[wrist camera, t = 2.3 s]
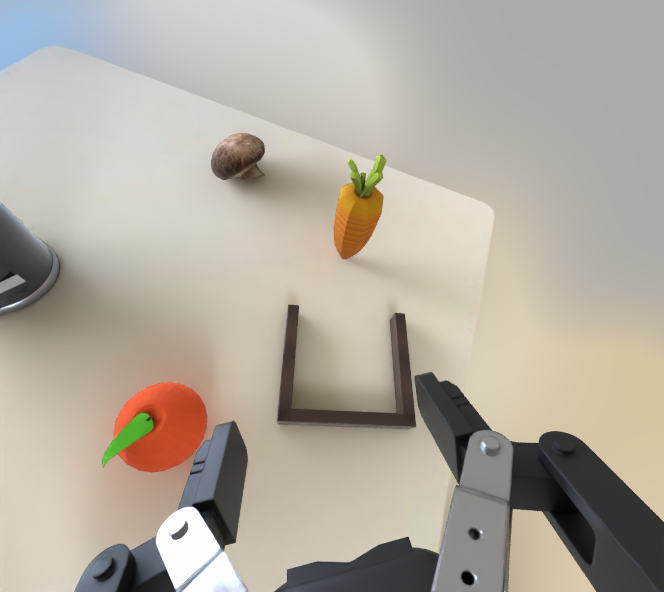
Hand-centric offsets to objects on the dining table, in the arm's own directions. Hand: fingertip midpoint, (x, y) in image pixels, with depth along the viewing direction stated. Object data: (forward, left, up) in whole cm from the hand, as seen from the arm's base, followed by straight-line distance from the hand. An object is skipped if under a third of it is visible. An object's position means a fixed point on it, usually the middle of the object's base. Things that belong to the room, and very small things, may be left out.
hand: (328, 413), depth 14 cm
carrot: (-16, +16, -20) cm, 30 cm away
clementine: (-8, -10, -20) cm, 23 cm away
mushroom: (-36, +11, -20) cm, 42 cm away
